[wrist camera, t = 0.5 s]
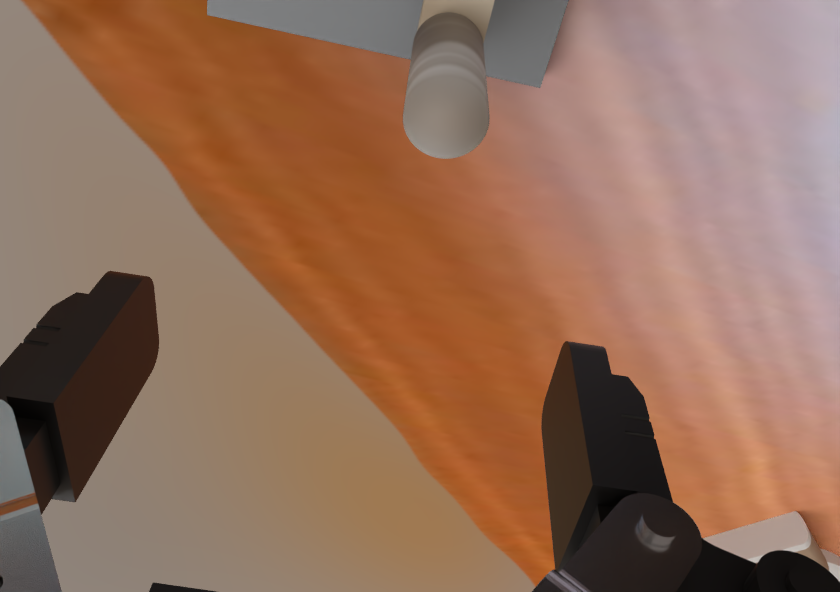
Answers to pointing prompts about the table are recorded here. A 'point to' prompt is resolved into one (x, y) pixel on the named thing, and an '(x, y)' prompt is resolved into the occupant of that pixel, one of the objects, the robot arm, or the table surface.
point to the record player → (775, 541)
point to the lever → (448, 78)
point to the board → (411, 28)
